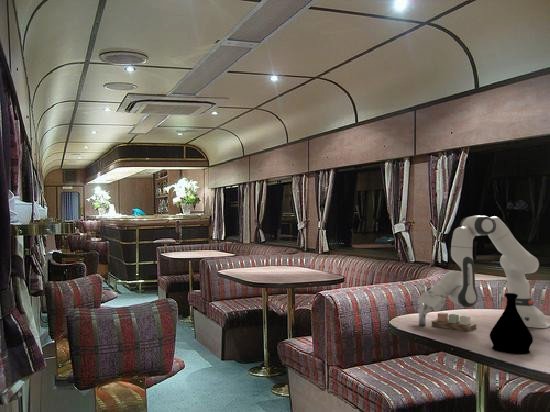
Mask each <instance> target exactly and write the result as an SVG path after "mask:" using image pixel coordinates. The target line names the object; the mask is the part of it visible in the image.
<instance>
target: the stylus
mask: <svg viewBox="0 0 550 412" xmlns="http://www.w3.org/2000/svg"><path fill="white" fill-rule="evenodd" d="M418 309H419V312H418V326H419V327H426V321H427V320H426V319H427V318H426V317H427V316H426V315H427V314H426V315H424V314H423V311H424V310H426V309H427V308H426V303H418Z"/></svg>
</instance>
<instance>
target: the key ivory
mask: <svg viewBox="0 0 550 412" xmlns="http://www.w3.org/2000/svg"><path fill="white" fill-rule="evenodd" d="M459 321H460V324H462V325H469V324H470V323H471V315H470V316H468V315H459Z"/></svg>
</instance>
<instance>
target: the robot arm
mask: <svg viewBox="0 0 550 412" xmlns="http://www.w3.org/2000/svg"><path fill="white" fill-rule="evenodd" d="M479 236H488V238H489V239H490V241H491V243H492V244H493V245H494V246H495V248H496V250H497V251H498V252H499V253H500V254H502V255H501V256H500V259H499V264H500V266H501V268H502V269H503V271H504V273H505V277H506V281H507V293H515V294H517V295H518V297H517V298H516V299H515V304H516V308H517V311H518V313H519V315H520V316H521V318H522V320H523V321H524V323H525V325H526V326H527V328H528V327H529V328H534V329H536V328H538V329H547V328H549V327H550V322H546V318H545V317H546V316H545V314H544V312H543V311H541V310H540V309H539V308H537V307H536V306H534V302H535V300H534V299H532V298H531V297H530V295H531V294H530V292H531V291H530V290H531V287H530V286H531V285H530V282H529V281H528V280H527V278H526V275H528V274H532V273H535V272H537V271H538V269H539V266H540V262H539V259H538V258H537V257H536V256H534V255H533V254H531V253H530V252H529V251H528V250H526V248H525V247H523V246H522V244H520V243H519V242H518V240H517V239H516V238H515V236H514V235H513V233H512V232H511V230H510V229H509V227H508V226H507V225H506V224H505V223H504V222H503V221H502V219H500V217H498V216H495V215H494V216H490V217H489V216H487V215H472V216H470V215H469V216H467V217H464V218H463V219H462V220H461V221H460V224H459V226H458V227H457V228H455V229H454V230H453V233H452V237H451V242H450V243H451V244H450V246H451V247H450V255H451V256H450V257H451V258H452V259H451V260H453V261H454V262H455V263H456V264H457V265H458V267H459V268H460V269H461V273H460V272H458V271H456V270H449V271H447V272H446V273H444V274H443V276H442V277H441V278H440V280H439V281H438V282H437V283H435V284H434V285H433V286H431V287H430V286H429V287H427V288H426V289H425V291H424V292H423V293H422V294H421V295H420V296H419V297H418V299H417V303H418V304H419V303H426V310H424V311H423V314H424V315H428V313H430V312H432V311H434V312H437V313H439V311H440V310H441V309H442V308H443V307H444V305H445V304H446V301H447V298H448V299H449V300H450V301H451V302H452V303H455V304H457V305H460V306H462V307H465V308H473V307H474V306H475V305H476V304H477V302H478V299H479V295H478V292H477V289H476V275H475V273H476V272H475V263H474V262H475V261H474V257H473V245H474V244H473V242H474V239H475V237H479ZM416 311H417V312H418V313H419V308H417V310H416Z"/></svg>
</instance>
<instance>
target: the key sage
mask: <svg viewBox="0 0 550 412" xmlns="http://www.w3.org/2000/svg"><path fill="white" fill-rule="evenodd" d="M448 320H449V323H455V324H456V323H459V321H460V315H459V314H455V313H453V314H452V313H450V314H448Z"/></svg>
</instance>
